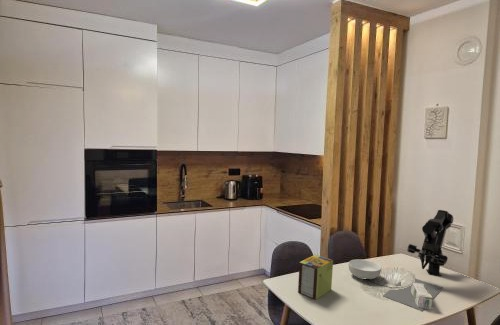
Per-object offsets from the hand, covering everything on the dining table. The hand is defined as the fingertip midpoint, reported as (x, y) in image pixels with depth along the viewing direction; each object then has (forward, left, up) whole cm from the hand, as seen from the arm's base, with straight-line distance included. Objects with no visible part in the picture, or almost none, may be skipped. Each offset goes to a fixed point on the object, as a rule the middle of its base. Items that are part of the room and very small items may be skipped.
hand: (422, 268), depth 170 cm
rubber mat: (+8, -5, -10) cm, 14 cm away
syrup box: (+10, -5, -7) cm, 13 cm away
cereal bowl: (-2, -29, -10) cm, 30 cm away
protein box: (+24, -54, -10) cm, 60 cm away
